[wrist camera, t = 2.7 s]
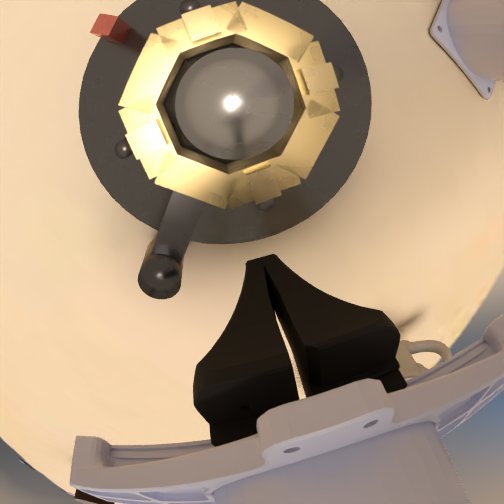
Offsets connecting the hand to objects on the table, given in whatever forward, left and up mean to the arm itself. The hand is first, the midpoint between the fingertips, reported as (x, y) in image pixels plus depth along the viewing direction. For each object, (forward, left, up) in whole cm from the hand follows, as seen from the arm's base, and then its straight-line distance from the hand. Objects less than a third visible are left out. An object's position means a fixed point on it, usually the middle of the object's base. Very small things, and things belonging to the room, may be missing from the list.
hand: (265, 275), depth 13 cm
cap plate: (-6, -4, -5) cm, 9 cm away
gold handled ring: (-3, -4, -4) cm, 7 cm away
